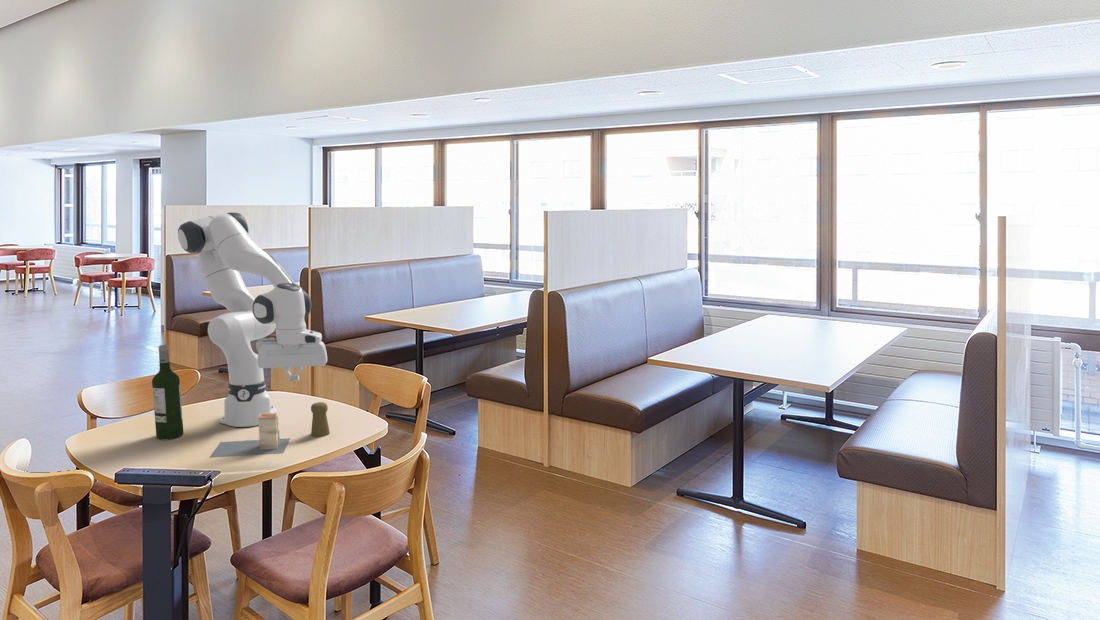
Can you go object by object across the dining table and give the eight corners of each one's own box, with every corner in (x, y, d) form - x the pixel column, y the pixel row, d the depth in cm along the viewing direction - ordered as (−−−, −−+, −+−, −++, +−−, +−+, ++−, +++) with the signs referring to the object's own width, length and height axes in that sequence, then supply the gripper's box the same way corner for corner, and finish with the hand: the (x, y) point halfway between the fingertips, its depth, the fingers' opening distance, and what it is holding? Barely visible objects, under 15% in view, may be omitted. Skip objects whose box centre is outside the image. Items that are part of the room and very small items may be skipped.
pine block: (263, 444, 232) (261, 413, 230) (279, 443, 233) (278, 412, 231) (260, 449, 227) (258, 418, 225) (277, 448, 228) (275, 417, 226)
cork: (309, 439, 239) (308, 406, 237) (311, 433, 245) (310, 401, 243) (329, 438, 240) (327, 405, 238) (330, 432, 246) (329, 400, 244)
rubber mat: (220, 443, 234) (220, 442, 234) (290, 440, 238) (290, 438, 238) (209, 459, 220) (209, 457, 220) (283, 455, 224) (283, 453, 224)
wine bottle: (151, 437, 239) (143, 346, 235) (173, 430, 246) (166, 342, 242) (166, 441, 236) (159, 349, 231) (188, 434, 243) (182, 344, 238)
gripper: (253, 339, 221) (256, 384, 223) (324, 337, 225) (326, 381, 227) (257, 336, 227) (260, 379, 229) (326, 333, 231) (328, 376, 233)
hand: (294, 380), depth 228 cm, fingers closed
